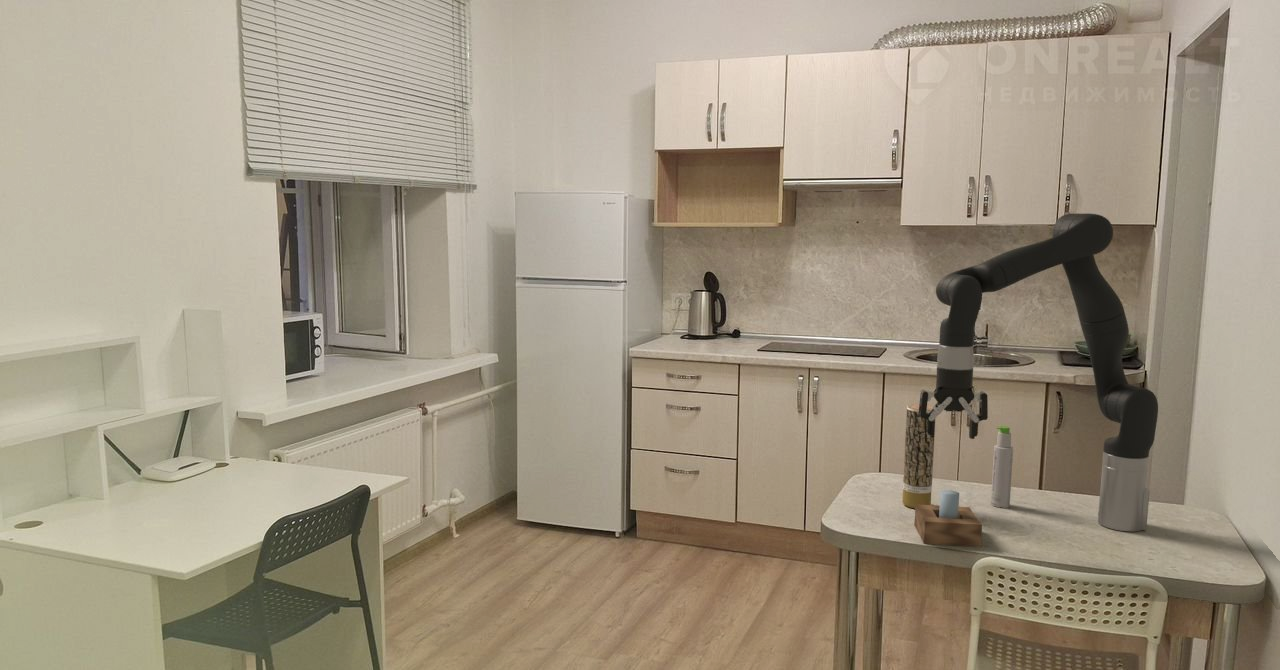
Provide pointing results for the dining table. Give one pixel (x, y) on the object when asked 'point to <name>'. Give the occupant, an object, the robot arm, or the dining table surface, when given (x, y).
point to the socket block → (947, 527)
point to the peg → (949, 504)
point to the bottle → (1002, 469)
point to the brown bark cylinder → (917, 459)
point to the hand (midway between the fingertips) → (951, 437)
